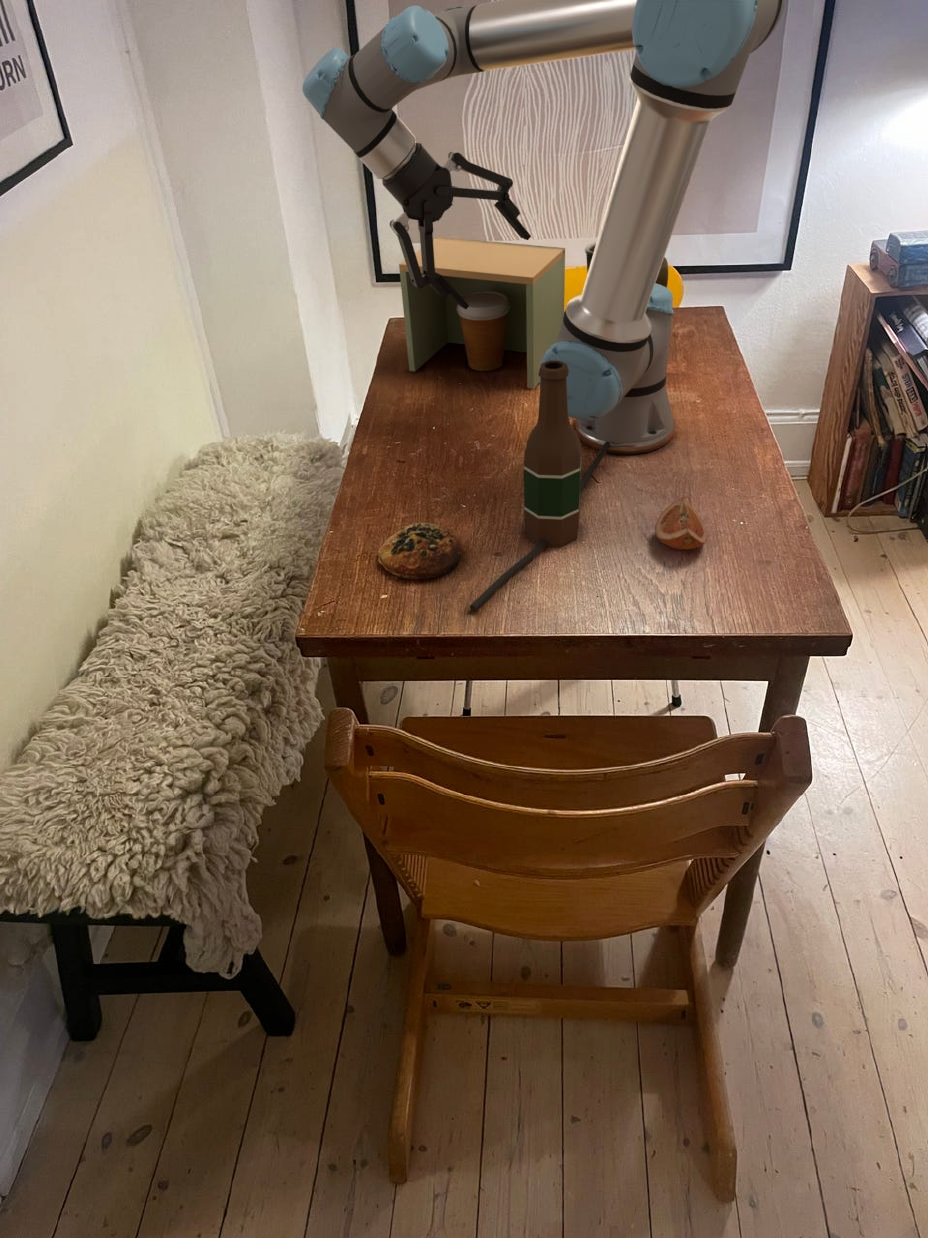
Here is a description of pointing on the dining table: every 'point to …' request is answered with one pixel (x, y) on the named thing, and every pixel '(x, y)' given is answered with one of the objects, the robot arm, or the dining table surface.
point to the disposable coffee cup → (484, 328)
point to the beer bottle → (552, 465)
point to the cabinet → (491, 266)
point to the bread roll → (420, 552)
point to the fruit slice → (680, 526)
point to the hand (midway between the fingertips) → (495, 271)
